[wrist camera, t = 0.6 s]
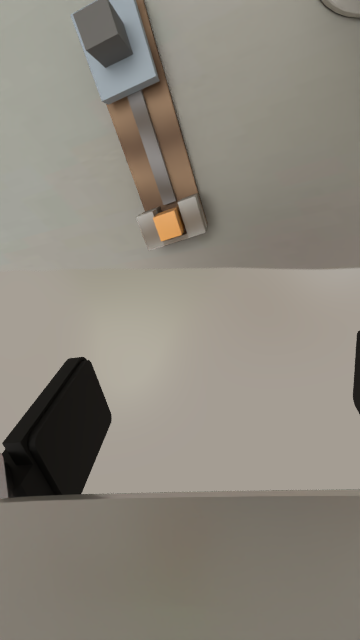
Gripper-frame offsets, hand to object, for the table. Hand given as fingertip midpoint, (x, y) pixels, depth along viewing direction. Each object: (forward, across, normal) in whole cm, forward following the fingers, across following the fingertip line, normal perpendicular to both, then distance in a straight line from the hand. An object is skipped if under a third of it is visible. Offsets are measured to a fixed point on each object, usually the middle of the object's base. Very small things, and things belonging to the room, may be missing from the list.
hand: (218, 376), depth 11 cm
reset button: (+28, +5, -2) cm, 28 cm away
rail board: (+33, +6, -11) cm, 35 cm away
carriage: (+30, +7, -19) cm, 36 cm away
